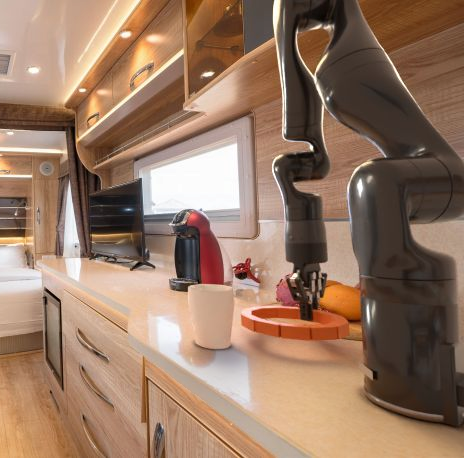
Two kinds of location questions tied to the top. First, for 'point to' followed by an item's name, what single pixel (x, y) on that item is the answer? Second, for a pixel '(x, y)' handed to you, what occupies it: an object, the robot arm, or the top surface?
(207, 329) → the cup
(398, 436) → the top surface
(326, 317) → the ring
